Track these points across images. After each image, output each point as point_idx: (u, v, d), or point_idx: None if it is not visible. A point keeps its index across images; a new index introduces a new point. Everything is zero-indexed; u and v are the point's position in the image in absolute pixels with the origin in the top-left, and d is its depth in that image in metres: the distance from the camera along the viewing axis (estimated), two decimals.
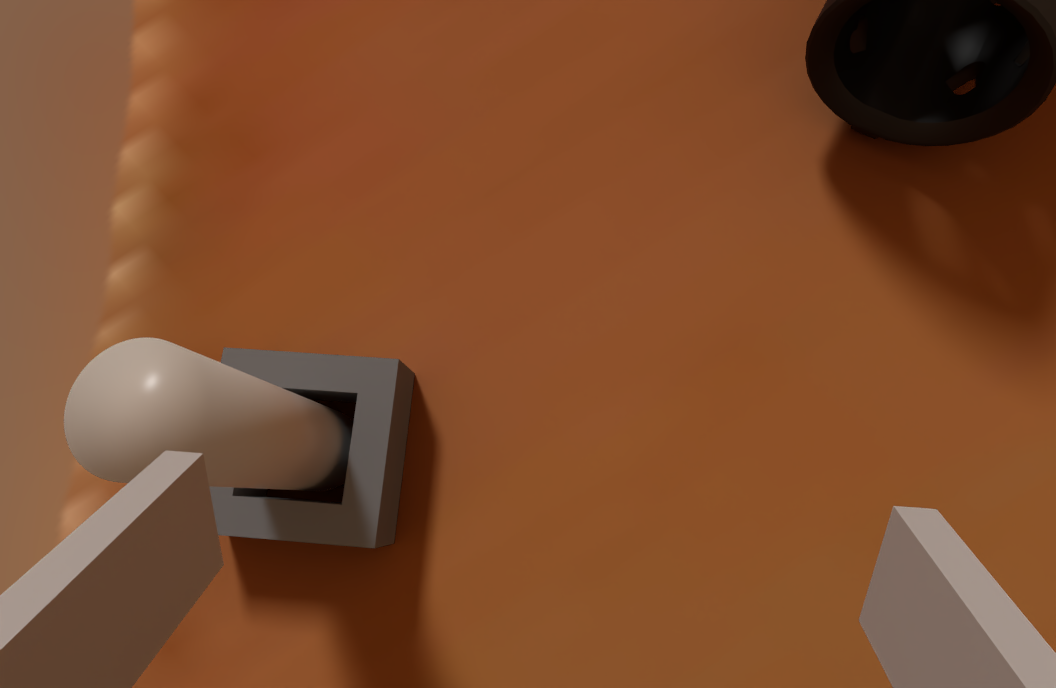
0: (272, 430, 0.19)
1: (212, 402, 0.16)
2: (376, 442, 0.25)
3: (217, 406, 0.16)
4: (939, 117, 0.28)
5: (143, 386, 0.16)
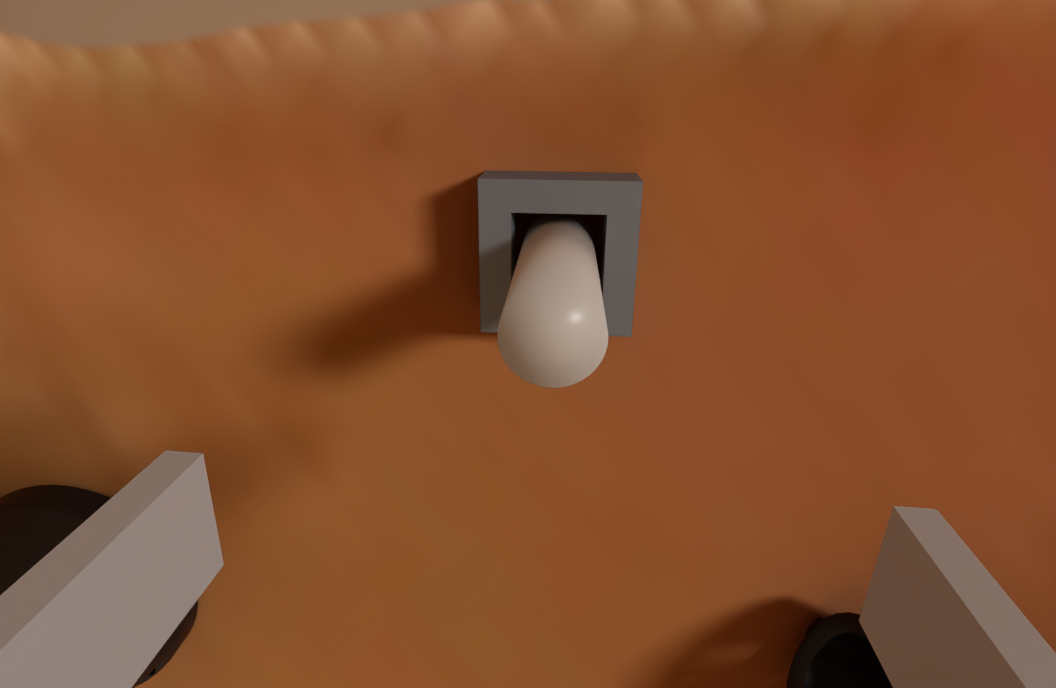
0: None
1: (560, 383, 0.22)
2: None
3: None
4: (809, 681, 0.39)
5: (569, 341, 0.21)
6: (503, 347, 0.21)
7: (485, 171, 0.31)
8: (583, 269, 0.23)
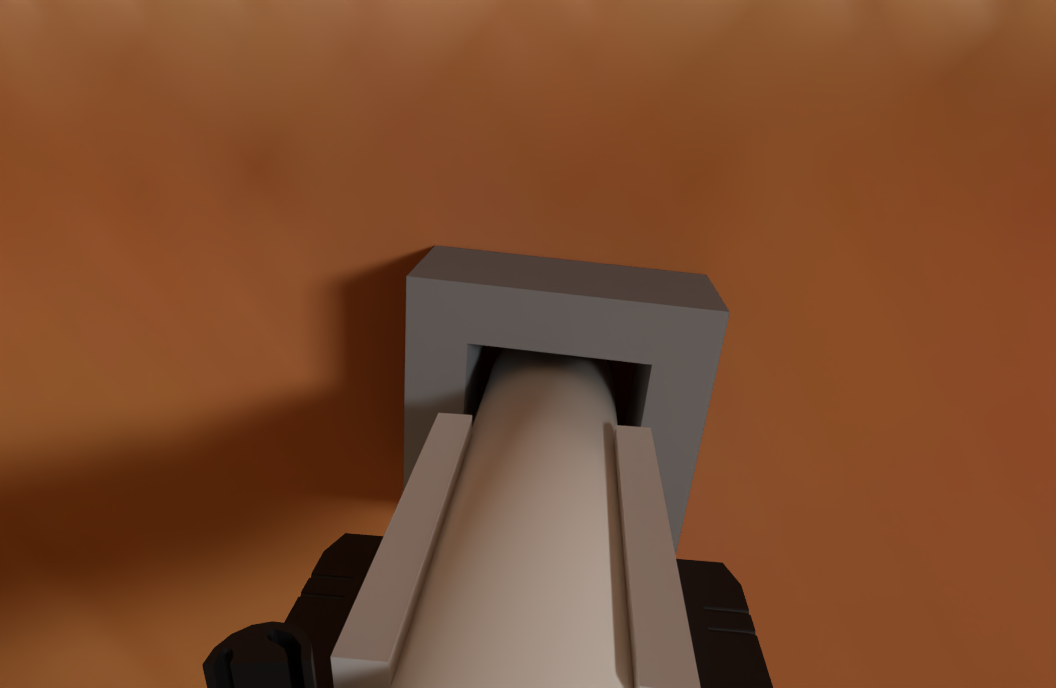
0: None
1: None
2: None
3: None
4: None
5: None
6: None
7: (433, 248, 0.17)
8: (593, 615, 0.09)
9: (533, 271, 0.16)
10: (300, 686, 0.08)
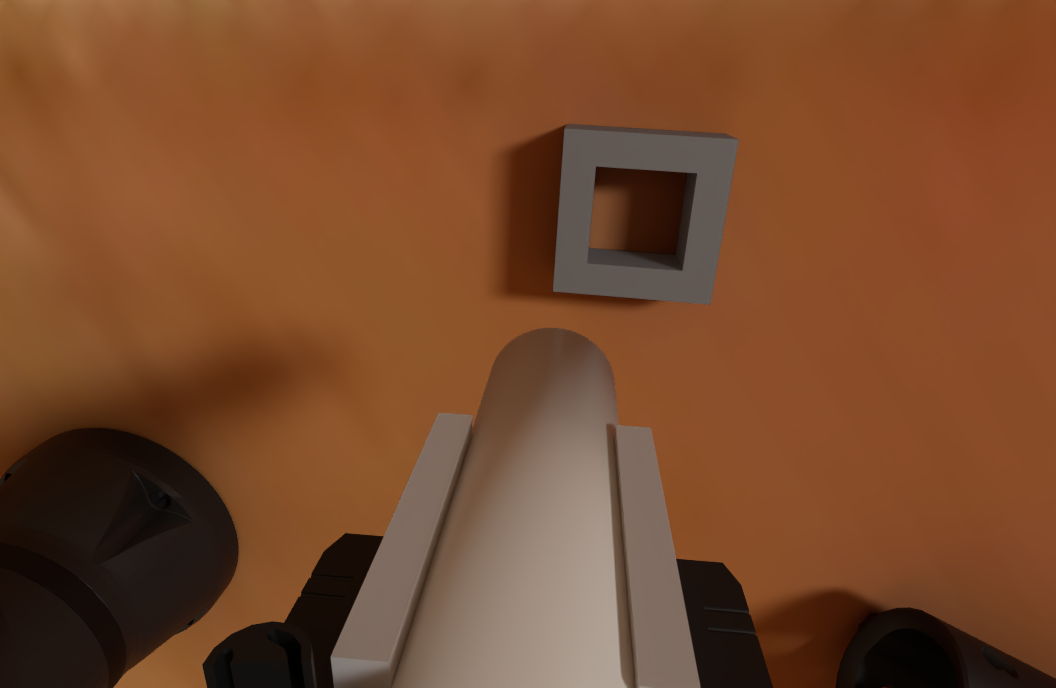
0: None
1: None
2: (638, 289, 0.30)
3: None
4: (860, 676, 0.38)
5: None
6: None
7: (568, 124, 0.30)
8: (597, 617, 0.09)
9: (628, 130, 0.29)
10: (300, 686, 0.08)
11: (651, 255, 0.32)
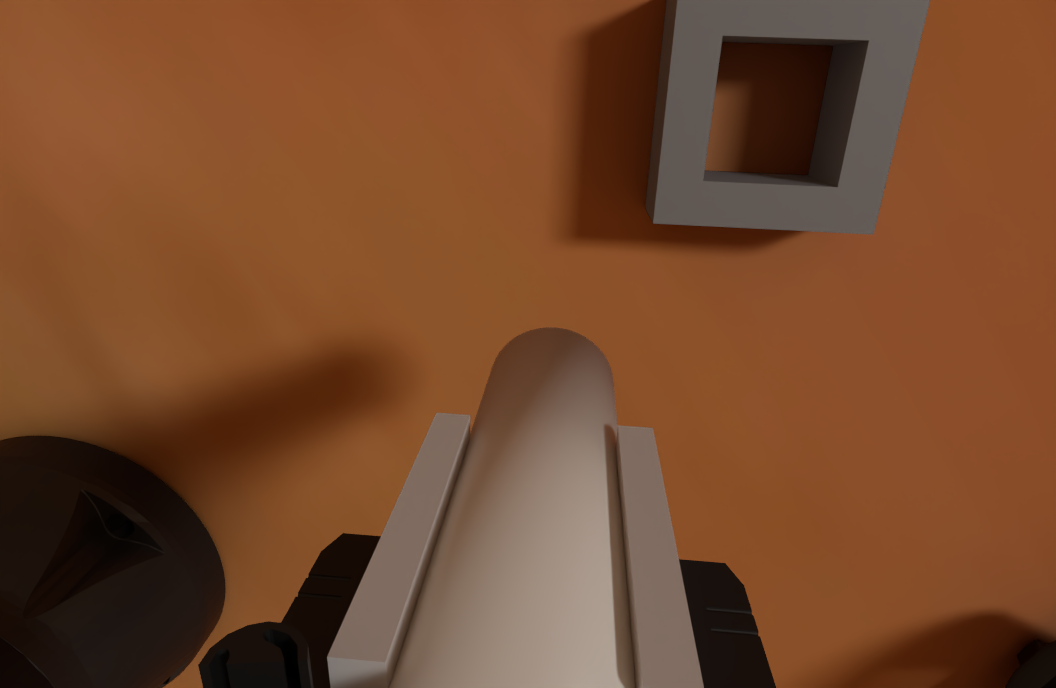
0: None
1: None
2: (773, 215, 0.22)
3: None
4: None
5: None
6: None
7: None
8: (593, 607, 0.09)
9: None
10: (296, 686, 0.08)
11: (778, 175, 0.24)
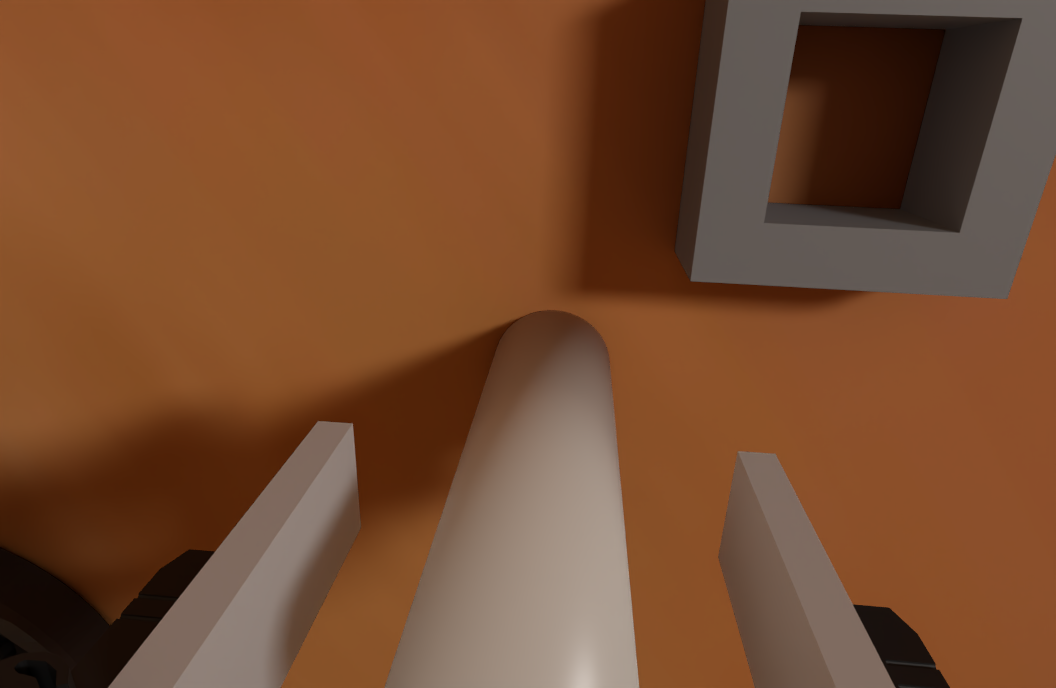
0: None
1: None
2: (863, 271, 0.15)
3: None
4: None
5: None
6: None
7: None
8: (591, 538, 0.10)
9: None
10: None
11: (861, 210, 0.17)
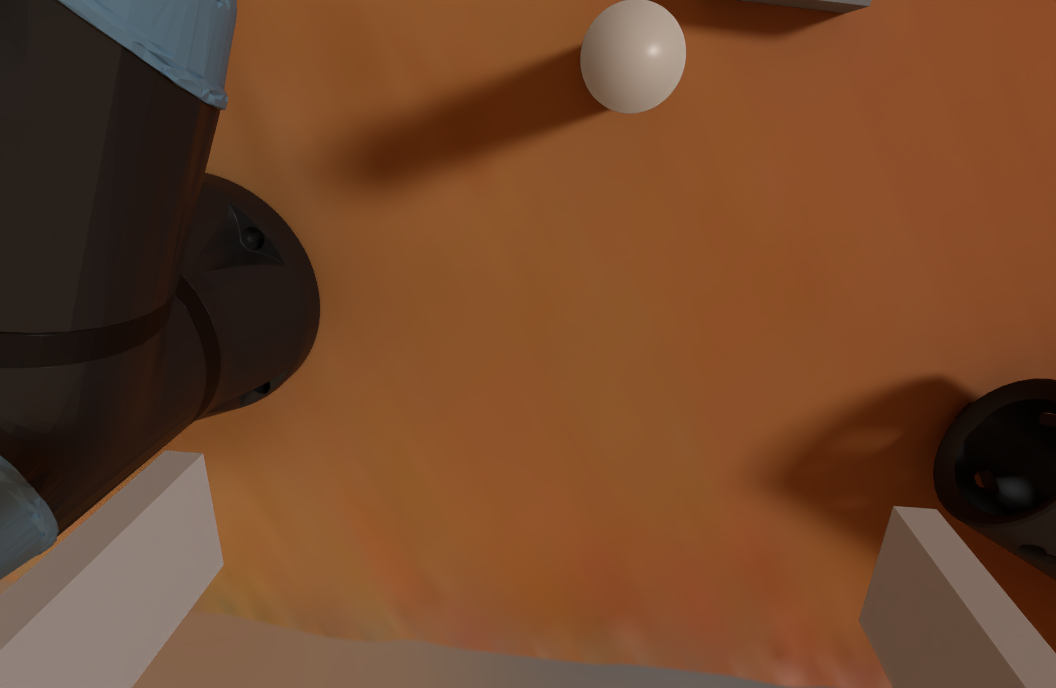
0: None
1: (631, 112, 0.23)
2: None
3: None
4: (960, 459, 0.38)
5: (647, 63, 0.22)
6: (584, 63, 0.22)
7: None
8: None
9: None
10: None
11: None
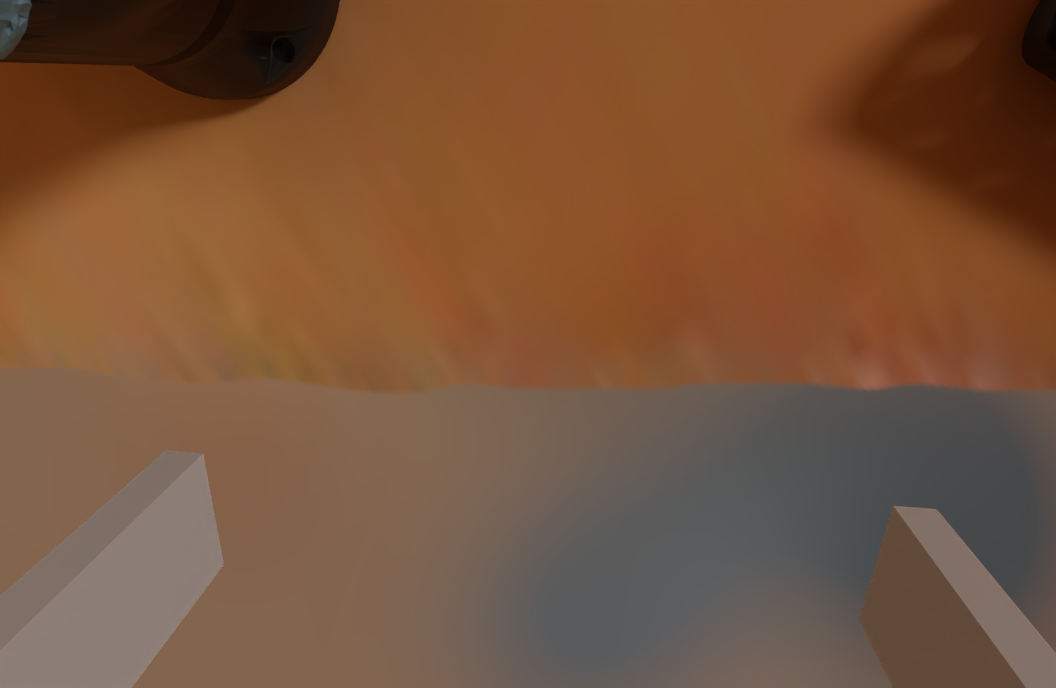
0: None
1: None
2: None
3: None
4: (1051, 34, 0.34)
5: None
6: None
7: None
8: None
9: None
10: None
11: None
